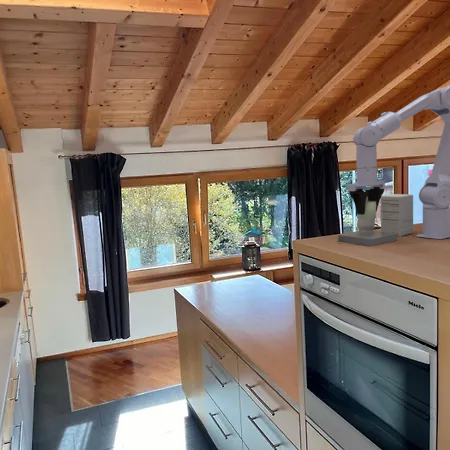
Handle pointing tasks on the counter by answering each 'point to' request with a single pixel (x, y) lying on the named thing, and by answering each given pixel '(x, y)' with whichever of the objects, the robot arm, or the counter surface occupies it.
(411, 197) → the supplement box
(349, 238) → the slate base
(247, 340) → the counter surface
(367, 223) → the salt shaker
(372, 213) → the green cylinder
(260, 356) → the counter surface
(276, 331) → the counter surface
